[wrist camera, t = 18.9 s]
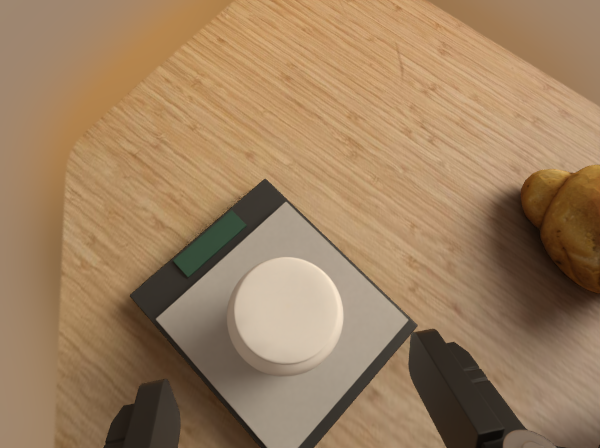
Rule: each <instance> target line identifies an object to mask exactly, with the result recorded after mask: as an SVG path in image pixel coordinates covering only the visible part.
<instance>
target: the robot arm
mask: <svg viewBox="0 0 600 448" xmlns="http://www.w3.org/2000/svg"><path fill="white" fill-rule="evenodd" d="M409 372H410V376H411V379H412V381H413V384H414V386H415V388H416V389H417V391H418V393H419V395H420V397H421V399H422V401H423V403H424V405H425V407H426V409H427V411H428V413H429V415H430V416H431V418H432V420H433V422H434V424H435V426H436V428H437V430H438V432H439V434H440V436H441V438H442V440H443V442H444V443H445V445H446V447H447V448H564V447H558V446H555V445H554V444H552V443H551V442H550V441H549V440H547V439H546V438H545V437H543V436H541V435H539V434H537V433H535V432H532V431H528V430H527V429H526V428H525V427H524V426H523V425H522V423H521V422H520V421H519V420H518V418H517V417H516V415H515V414H514V413H513V411H512V410H511V409H510V407H509V406H508V405H507V403H506V402H505V401H504V399H503V398H502V397H501V395H500V394H499V393H498V391H497V390H496V389H495V387H494V386H493V385H492V383H491V382H490V381H488V379H487V377H486V375H485V374H484V373H483V371H482V370H481V369H479V366H478V364H477V363H476V362H475V360H474V359H473V358H472V356H471V355H470V354H469V352H467V351H466V350H464V349H463V348H462V347H460V346H459V345H458V344H456V343H455V342H451V343H445V341H444V340H443V338H442V337H441V335H440V334H439V333H438V331H437V330H435V329H429V330H423V331H418V332H413V333H412V334H411V339H410V351H409ZM179 435H180V413H179V409H178V406H177V403H176V400H175V398H174V395H173V392H172V389H171V387H170V384H169V381H168V380H167V379H163V380H158V381H153V382H147V383H142V384H141V385H140V386H139V389H138V392H137V396H136V400H135V403H134V404H130V405H124V406H123V407H122V409H121V410H120V411H119V413H118V414H117V416H116V417H115V418H114V420H113V421H112V423H111V425H110V429H109V432H108V435H107V438H106V441H105V442H106V444H105V445H104V447H103V448H178V443H179ZM598 448H600V445H599V447H598Z"/></svg>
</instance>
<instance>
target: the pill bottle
mask: <svg viewBox="0 0 600 448" xmlns="http://www.w3.org/2000/svg"><path fill="white" fill-rule="evenodd" d="M342 326H343V306H342V301H341V297H340V295H339V292H338V290H337V288H336V286H335V284H334V283H333V282H332V280H331V279H330V278H329V276H328V275H327V274H326V273H325V272H324V271H322V270H321V269H320V268H319V267H317V266H316V265H314V264H312V263H310V262H308V261H305V260H302V259H299V258H293V257H280V258H274V259H270V260H267V261H264V262H262V263H259V264H258V265H256V266H254V267H253V268H252V269H250V270H249V271H248V272H247V273H246V274H245V275H244V276H243V277H242V278H241V279H240V280H239V282H238V283H237V285H236V286H235V288H234V290H233V292H232V294H231V297H230V300H229V303H228V308H227V327H228V332H229V335H230V338H231V341H232V343H233V345H234V347H235V349H236V350H237V352H238V353H239V355H240V356H241V357H242V358H243V359H244V360H245V361H246V362H247V363H248V364H249V365H251V366H252V367H254V368H255V369H257V370H259V371H261V372H263V373H266V374H269V375H274V376H294V375H299V374H303V373H306V372H308V371H310V370H312V369H314V368H315V367H317V366H318V365H320V364H321V363H322V362H323V361H324V360H325V359H326V358H327V357H328V356H329V355H330V354H331V352H332V351H333V349H334V348H335V346H336V344H337V342H338V340H339V337H340V335H341V331H342Z"/></svg>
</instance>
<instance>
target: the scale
mask: <svg viewBox="0 0 600 448" xmlns="http://www.w3.org/2000/svg"><path fill="white" fill-rule="evenodd" d="M280 257H293V258H299V259H302V260H305V261H308V262H310V263H312V264H314V265H316V266H317V267H319V268H320V269H321V270H322V271H324V272H325V273H326V274H327V275H328V276H329V278H330V279H331V280H332V282H333V283H334V284H335V286H336V288H337V290H338V292H339V295H340V297H341V301H342V306H343V326H342V331H341V335H340V337H339V340H338V342H337V344H336V346H335V348H334V349H333V351H332V352H331V354H330V355H329V356H328V357H327V358H326V359H325V360H324V361H323V362H322V363H321V364H320V365H318V366H317V367H315V368H314V369H312V370H310V371H308V372H306V373H303V374H299V375H294V376H274V375H269V374H266V373H263V372H261V371H259V370H257V369H255V368H254V367H252V366H251V365H249V364H248V363H247V362H246V361H245V360H244V359H243V358H242V357H241V356H240V355H239V353H238V352H237V350H236V349H235V347H234V345H233V343H232V341H231V338H230V335H229V332H228V327H227V308H228V303H229V300H230V297H231V294H232V292H233V290H234V288H235V286H236V285H237V283H238V282H239V280H240V279H241V278H242V277H243V276H244V275H245V274H246V273H247V272H248V271H249V270H250V269H252V268H253V267H254V266H256V265H258V264H259V263H262V262H264V261H267V260H270V259H274V258H280ZM130 297H131V298H132V299H133V300H134V302H135V303H136V304H137V305H138V306H139V307H140V309H141V310H142V311H143V312H144V313H145V314H146V315H147V317H148V318H149V319H150V320H151V321H152V322H153V324H154V325H155V326H156V327H157V328H158V329H159V330H160V332H161V333H162V334H163V335H164V336H165V337H166V339H167V340H168V341H169V342H170V343H171V344H172V346H173V347H174V348H175V349H176V350H177V351H178V352H179V354H180V355H181V356H182V357H183V358H184V359H185V361H186V362H187V363H188V364H189V365H190V366H191V368H192V369H193V370H194V371H195V372H196V373H197V374H198V376H199V377H200V378H201V379H202V380H203V381H204V383H205V384H206V385H207V386H208V387H209V388H210V389H211V391H212V392H213V393H214V394H215V395H216V396H217V398H218V399H219V400H220V401H221V402H222V403H223V405H224V406H225V407H226V408H227V409H228V410H229V411H230V413H231V414H232V415H233V416H234V417H235V418H236V420H237V421H238V422H239V423H240V424H241V425H242V427H243V428H244V429H245V430H246V431H247V432H248V433H249V435H250V436H251V437H252V438H253V439H254V440H255V442H256V443H257V444H258V445H259V446H260V447H261V448H314V447H315V446H316V445H317V443H318V442H319V441H320V440H321V439H322V437H323V436H324V435H325V434H326V433H327V432H328V430H329V429H330V428H331V427H332V426H333V425H334V423H335V422H336V421H337V420H338V419H339V418H340V416H341V415H342V414H343V413H344V412H345V411H346V409H347V408H348V407H349V406H350V405H351V403H352V402H353V401H354V400H355V399H356V398H357V396H358V395H359V394H360V393H361V392H362V391H363V389H364V388H365V387H366V386H367V385H368V384H369V382H370V381H371V380H372V379H373V378H374V377H375V375H376V374H377V373H378V372H379V371H380V370H381V368H382V367H383V366H384V365H385V364H386V362H387V361H388V360H389V359H390V358H391V357H392V355H393V354H394V353H395V352H396V351H397V350H398V348H399V347H400V346H401V345H402V344H403V343H404V341H405V340H406V339H407V338H408V337H409V336H410V334H411V333H412V332H413V331H414V330H415V328H416V327H417V326H418V325H417V324H416V323H415V322H414V321H413V320H412V319H411V318H410V317H409V316H408V315H407V314H406V313H404V312H403V311H402V310H401V309H400V308H399V307H398V306H397V305H396V304H395V303H394V302H393V301H392V300H391V299H390V298H389V297H388V296H387V295H386V294H385V293H384V292H383V291H382V290H381V289H380V288H379V287H377V286H376V285H375V284H374V283H373V282H372V281H371V280H370V279H369V278H368V277H367V276H366V275H365V274H364V273H363V272H362V271H361V270H360V269H359V268H358V267H357V266H356V265H355V264H354V263H353V262H352V261H351V260H349V259H348V258H347V257H346V256H345V255H344V254H343V253H342V252H341V251H340V250H339V249H338V248H337V247H336V246H335V245H334V244H333V243H332V242H331V241H330V240H329V239H328V238H327V237H326V236H325V235H324V234H323V233H321V232H320V231H319V230H318V229H317V228H316V227H315V226H314V225H313V224H312V223H311V222H310V221H309V220H308V219H307V218H306V217H305V216H304V215H303V214H302V213H301V212H300V211H299V210H298V209H297V208H296V207H295V206H293V205H292V204H291V203H290V202H289V201H288V200H287V199H286V198H285V197H284V196H283V195H282V194H281V193H280V192H279V191H278V190H277V189H276V188H275V187H274V186H273V185H272V184H271V183H270V182H269V181H268V180H266V179H264V180H263V181H262V182H260V183H259V184H258V185H257V186H256V187H255V188H253V189H252V190H251V191H250V192H249V193H248V194H246V195H245V196H244V197H243V198H242V199H241V200H240V201H238V202H237V203H236V204H235V205H234V206H233V207H231V208H230V209H229V210H228V211H227V212H226V213H224V214H223V215H222V216H221V217H220V218H219V219H217V220H216V221H215V222H214V223H213V224H212V225H211V226H209V227H208V228H207V229H206V230H205V231H204V232H202V233H201V234H200V235H199V236H198V237H197V238H195V239H194V240H193V241H192V242H191V243H190V244H188V245H187V246H186V247H185V248H184V249H183V250H182V251H180V252H179V253H178V254H177V255H176V256H175V257H173V258H172V259H171V260H170V261H169V262H168V263H166V264H165V265H164V266H163V267H162V268H161V269H159V270H158V271H157V272H156V273H155V274H154V275H152V276H151V277H150V278H149V279H148V280H147V281H146V282H144V283H143V284H142V285H141V286H140V287H139V288H137V289H136V290H135V291H134V292H133V293H132V294H130Z"/></svg>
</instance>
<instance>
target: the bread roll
mask: <svg viewBox="0 0 600 448" xmlns="http://www.w3.org/2000/svg"><path fill="white" fill-rule="evenodd" d="M521 203H522V207H523V211H524V213H525V215H526V217H527V218H528V219H529V220H530V221H531V222H532V223H533V224H534V226H536V227H537V228H538V229H539V230H540V232H541V233H540V239H541V241H542V243H543V245H544V247H545V251H546V252H547V253H548V254H549V255H550V257H551V259H552V260H553V262H554V263H555V264H556V265H557V266H558V267H559V268H560V270H561V271H562V272H563V273H564V274H565V275H567V276H568V277H569V278H570V279H571V280H573V281H574V282H575V283H576V284H578V285H580V286H581V287H583V288H585V289H587V290H589V291H592V292H595V293H599V294H600V165H591V166H587V167H585V168H583V169H581V170H580V171H578V172H576V173H570V172H567V171H562V170H555V169H547V170H540V171H537V172H535V173H533V174H532V175H531V176H530V177H529V178H528V179H527V180H526V181H525V182H524V184H523V186H522V189H521Z"/></svg>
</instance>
